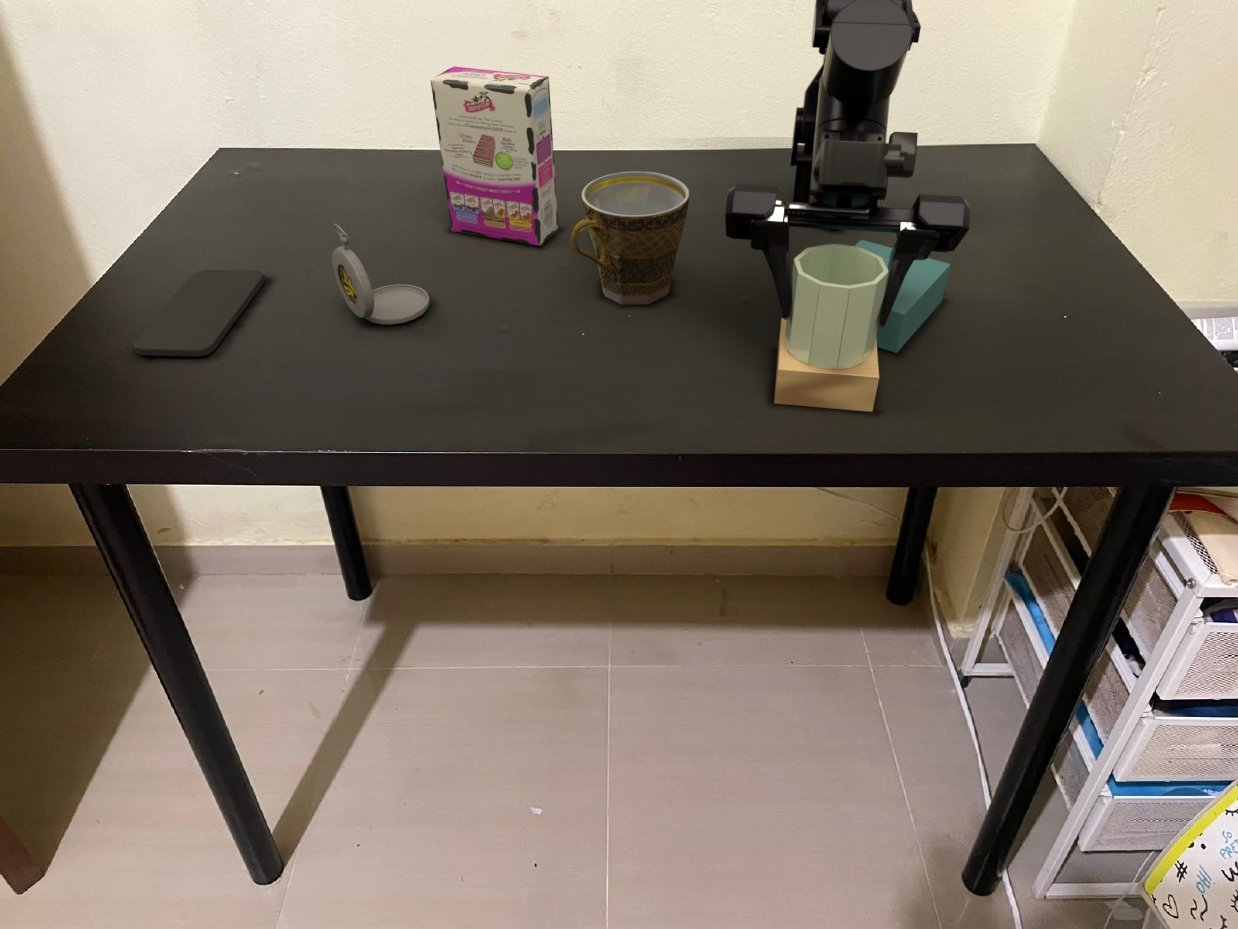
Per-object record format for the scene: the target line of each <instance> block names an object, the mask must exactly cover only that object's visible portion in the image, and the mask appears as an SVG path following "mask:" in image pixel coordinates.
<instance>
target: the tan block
mask: <svg viewBox="0 0 1238 929" xmlns="http://www.w3.org/2000/svg"><path fill="white" fill-rule="evenodd" d="M786 323H787V320H784V319H783V317H782V318H781V319H780V328H779V337H778V345H777V353H776V354H777V356H776V370H775V371H776V372H775V384H774V385H775V386H774V397H773V398H774V400H773V403H774V404H775V405H787V406H798V407H807V408H808V407H810V408H821V409H822V408H823V409H831V410H833V409H834V410H843V411H855V412H856V411H857V412H866V413H872V412H873V411H874V407H875V401H876V398H877V397H876V396H877V390H878V385H879V381H880V368H879V367H880V366H879V355H878V354H879V353H878V347H877V341H876V340H875V345H874V350H873V351H872V352H871V354H870V356H869V357H868V359H867V360H866V361H865V362H863V363H862V364H860V365H858V366H855V367H851V368H847V369H823V368H817V367H813V366H810V365H807V364H805V363H803V362H801V361H799V360H798V359H796V358H795V357H794V356H792V355H791V354H790V352H789V351H788V349H787V346H786V339H785V331H786Z"/></svg>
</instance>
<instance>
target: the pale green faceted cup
mask: <svg viewBox="0 0 1238 929" xmlns="http://www.w3.org/2000/svg"><path fill="white" fill-rule="evenodd" d="M792 263H793V265H792V273H791V279H790V288H791V302H790V312H789V319H788V320H787V323H786V331H785V339H786V346H787V349H788V351H789V352H790V354H791V355H792V356H794V357H795V358H796V359H798V360H799V361H801V362H803V363H805V364H807V365H810V366H813V367H817V368H823V369H847V368H851V367H855V366H858V365H860V364H862V363H863V362H865V361H866V360H867V359H868V357H869V356H870V354H871V352H872V351H873V350H874V345H875V340H876V335H877V329H878V324H879V318H880V313H881V308H882V303H883V298H884V292H885V287H886V282H887V277H888V269H887V267H886V265H885V262H884V260H883V258H882V257H880V256H878V255H876V254H874V253H872V252H870V251H868V250H866V249H864V248H862V247H857V246H855V245H848V244H840V243H826V244H821V245H814V246H810V247H806V248H805V249H803V250H802V251H801V252H800V253H799V254H797V256H795V257H794V258H793V262H792Z"/></svg>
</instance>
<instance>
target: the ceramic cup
mask: <svg viewBox="0 0 1238 929" xmlns="http://www.w3.org/2000/svg"><path fill="white" fill-rule="evenodd" d="M690 197H691V192H690V190H689V188H688V186H687V185H686V184H685V183H684V182H682V181H681V180H679V179H677V178H675V177H672V176H670V175H667V174H663V173H658V172H651V171H639V170H638V171H622V172H616V173H611V174H606V175H603V176H601V177H598V178H596V179H593V180H592V181H590V182H589V183H587V184H586V185H585V186H584V188H583V189H582V191H581V201H582V202H581V203H582V207H583V213H584V218H585V219H582V220H580V221H579V222H577V223H576V224H575V226H574V227H573V229H572V233H571V239H570V243H571V246H572V248H573V250H574V251H575V252H576V253H577V254H579V255H581V256H584V257H585V258H588V259H589V260H591V261H592V262H593V263H594V264H596V265H597V268H598V273H599V277H600V278H599V279H600V284H601V287H602V293H603V295H604V297H605V298H608V299H609V300H612V301H614V302H615V303H617V304H619V305H623V306H628V305H629V306H633V305H635V306H637V305H638V306H639V305H643V306H644V305H651V304H652V303H654V302H656V301H658V300H660V299H662V298H664V297H666V296H668V294H669V293H670V288H671V284H672V279H673V273H674V269H675V263H676V260H677V255H678V252H679V251H678V250H679V245H680V241H681V238H682V235H683V232H684V228H685V224H686V220H687V214H688V210H689V203H690ZM587 229H588V232H589V233H588V234H589V236H590V240H591V243H592V246H593V250H594V255H593V254H592V253H590V252H587V251H585V250H583V249H581V248H580V247H579V245H578V240H579V237H580V235H581V234H582V232H583V231H585V230H587Z"/></svg>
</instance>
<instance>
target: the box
mask: <svg viewBox="0 0 1238 929" xmlns="http://www.w3.org/2000/svg"><path fill="white" fill-rule="evenodd" d="M854 246H857V247H862V248H864V249H866V250H868V251H870V252H872V253H874V254H876V255H878V256H880V257H882V258H883V260H884V262H885V265H886V267H887V268H888V263H889V258H890V253H891V251H892V249H893V247H889V246H886V245H883V244H879V243H875V242H871V241H868V240H865V239H860V240H859V241H858V242H857V243H856V244H855V245H854ZM950 270H951V263H948V262H945V261H941V260H937V259H933V258H930V257H928V258H927V259H925V260H914V261H913V263H912V265H911V267H910V268H909V270H908V272H907V274H906V276H905V278H904V281H903V283H902V285H901V288H900V290H899V292H898V295H897V297H896V300H895V302H894V304H893V307H892V309H891V312H890V314H889V317H888V319H887V321H886V324H885V325H884V327H879V324H878V329H877V335H876V341H877V348H879V349H883V350H885V351H888V352H892V353H894V354H897V353H898V352H899V351H900V350H901V349H902V348H903V347H904V345H905V344H906V343H907V342H908V341H909V340H910V339H911V337H913V335H914V334H915V333H916V332H917V330H919V328H921V326H922V325H923V324H924V323H925V321H926V320H928V318H929V317H930V316H931V315H932V313H933V312H934V311H935V310H936V309H937V308H938V306H940V304H942V302H943V299H944V294H945V291H946V290H945V289H946V286H947V283H948V282H947V281H948V277H949V273H950Z"/></svg>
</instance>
